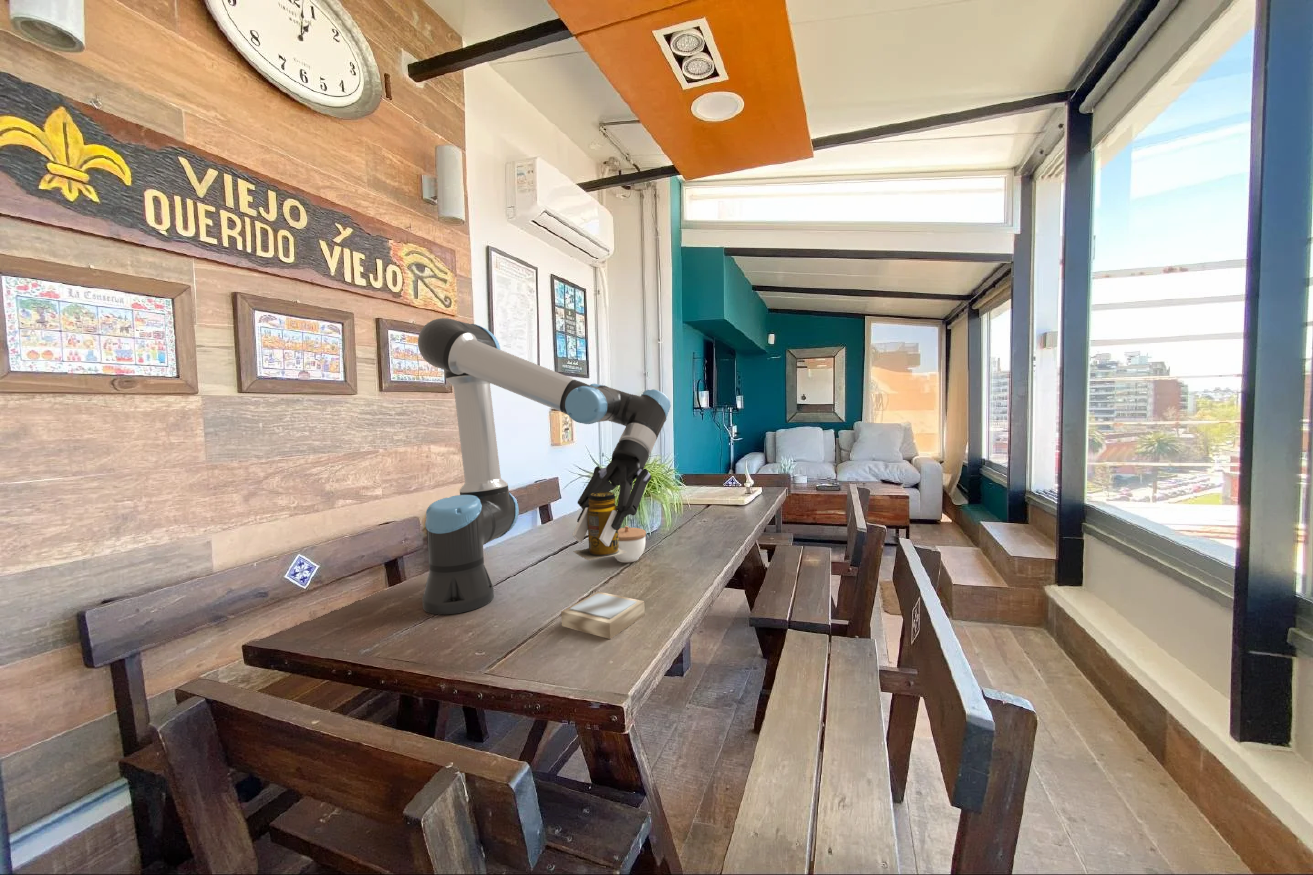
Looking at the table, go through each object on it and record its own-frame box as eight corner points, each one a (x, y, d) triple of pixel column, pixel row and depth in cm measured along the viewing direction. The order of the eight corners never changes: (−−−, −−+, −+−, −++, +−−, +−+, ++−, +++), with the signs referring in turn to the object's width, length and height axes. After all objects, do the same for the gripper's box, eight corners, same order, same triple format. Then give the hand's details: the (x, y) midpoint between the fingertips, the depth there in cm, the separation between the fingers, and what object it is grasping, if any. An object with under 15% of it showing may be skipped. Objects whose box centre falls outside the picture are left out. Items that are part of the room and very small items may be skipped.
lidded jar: (654, 556, 147) (652, 524, 146) (632, 567, 138) (631, 532, 137) (623, 551, 152) (622, 520, 152) (600, 561, 143) (599, 528, 143)
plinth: (561, 626, 103) (561, 610, 102) (598, 604, 113) (598, 590, 113) (610, 638, 96) (609, 621, 96) (645, 615, 107) (644, 599, 106)
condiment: (627, 553, 103) (624, 493, 102) (588, 561, 98) (586, 499, 98) (609, 545, 109) (607, 489, 108) (572, 552, 104) (570, 494, 104)
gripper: (678, 460, 110) (639, 556, 98) (606, 458, 120) (563, 544, 108) (664, 438, 106) (621, 535, 93) (591, 437, 116) (543, 525, 103)
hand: (590, 540), depth 100 cm, fingers closed on condiment, 6 cm apart
